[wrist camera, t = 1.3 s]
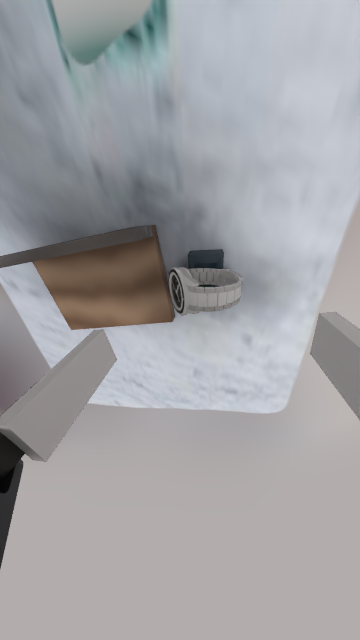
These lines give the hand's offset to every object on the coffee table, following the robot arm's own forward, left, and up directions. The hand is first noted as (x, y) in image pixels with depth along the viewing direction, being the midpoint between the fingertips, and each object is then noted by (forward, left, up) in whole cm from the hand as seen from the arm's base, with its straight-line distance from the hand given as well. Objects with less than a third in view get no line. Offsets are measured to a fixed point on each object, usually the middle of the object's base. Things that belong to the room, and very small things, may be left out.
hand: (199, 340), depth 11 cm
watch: (0, 0, -17) cm, 17 cm away
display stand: (0, -16, -17) cm, 23 cm away
